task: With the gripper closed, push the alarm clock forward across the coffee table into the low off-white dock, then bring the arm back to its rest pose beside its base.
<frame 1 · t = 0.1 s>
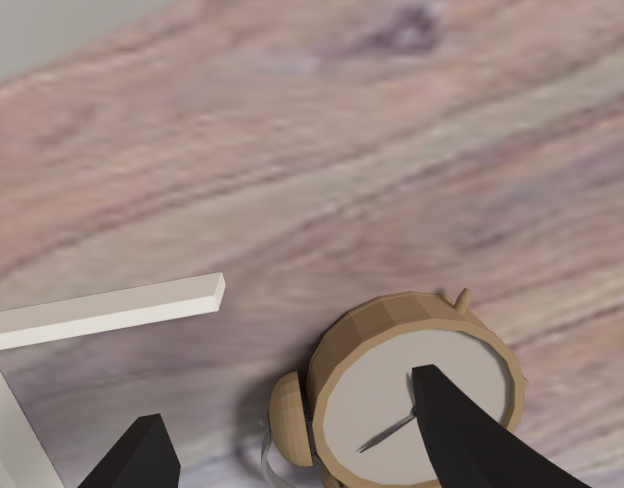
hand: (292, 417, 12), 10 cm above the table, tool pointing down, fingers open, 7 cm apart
alarm clock: (375, 385, 25), on the table
clock dock: (144, 433, 24), on the table
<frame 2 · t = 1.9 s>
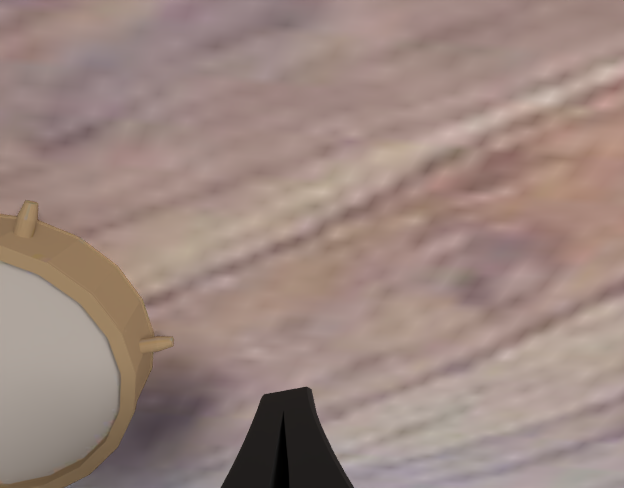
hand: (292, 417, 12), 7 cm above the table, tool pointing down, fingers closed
alarm clock: (1, 350, 18), on the table
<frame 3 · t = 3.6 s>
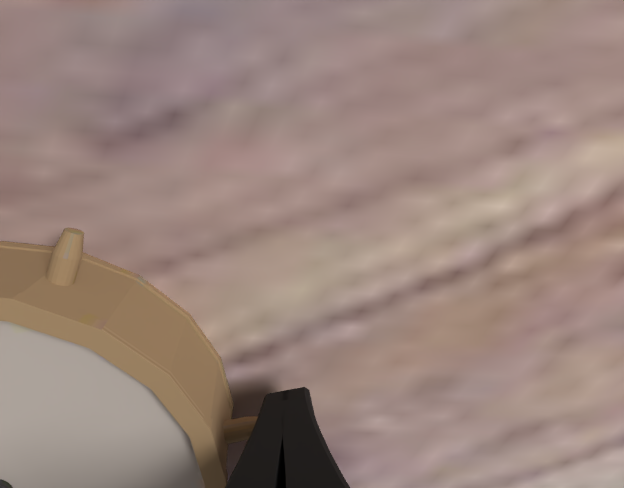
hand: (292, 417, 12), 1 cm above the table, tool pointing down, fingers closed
alarm clock: (20, 427, 13), on the table, touching gripper
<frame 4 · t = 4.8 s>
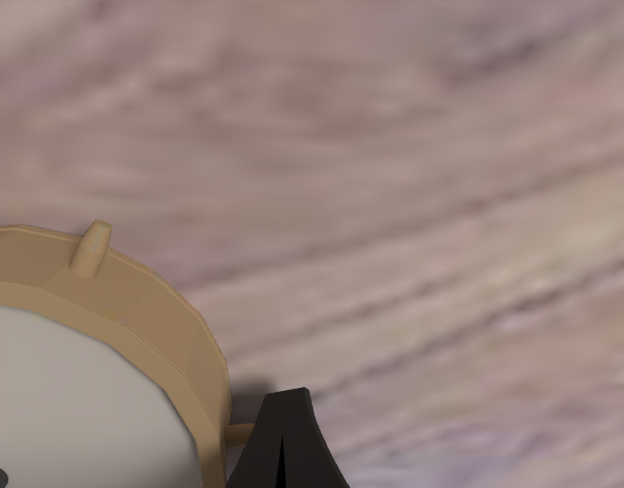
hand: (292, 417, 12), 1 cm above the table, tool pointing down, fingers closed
alarm clock: (10, 412, 13), on the table, touching gripper
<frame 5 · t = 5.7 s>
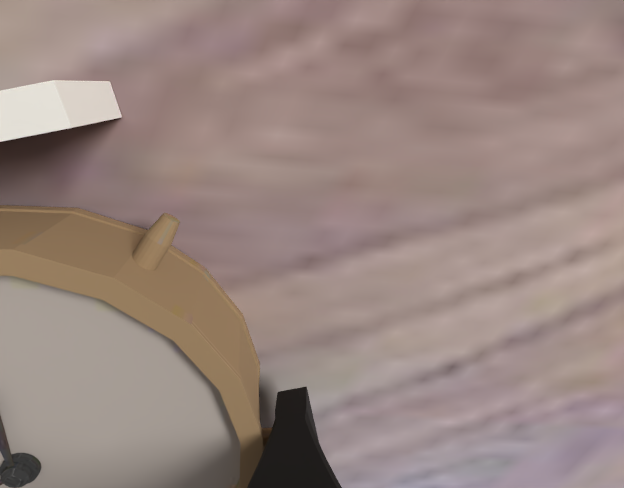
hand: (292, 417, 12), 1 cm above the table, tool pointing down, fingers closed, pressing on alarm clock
alarm clock: (29, 396, 13), on the table, touching clock dock, gripper
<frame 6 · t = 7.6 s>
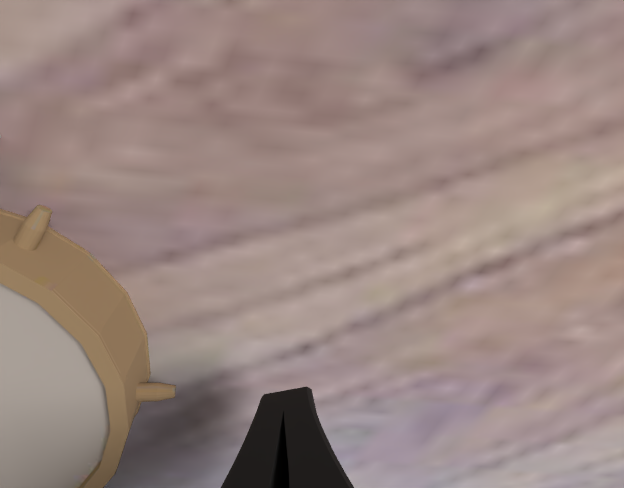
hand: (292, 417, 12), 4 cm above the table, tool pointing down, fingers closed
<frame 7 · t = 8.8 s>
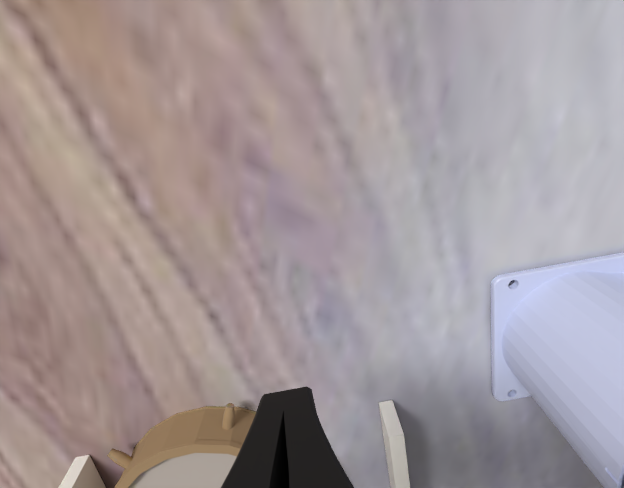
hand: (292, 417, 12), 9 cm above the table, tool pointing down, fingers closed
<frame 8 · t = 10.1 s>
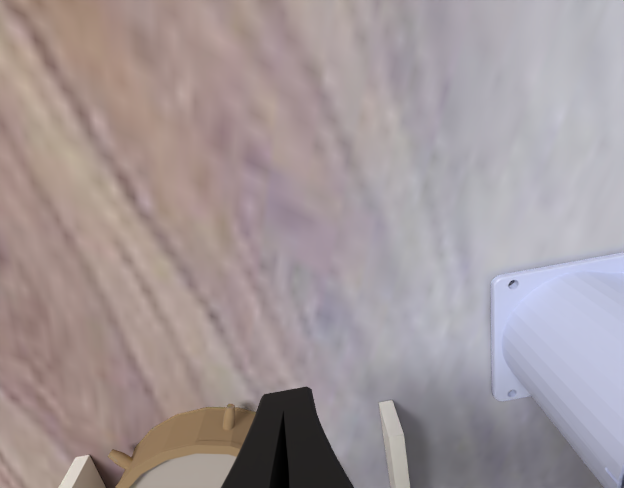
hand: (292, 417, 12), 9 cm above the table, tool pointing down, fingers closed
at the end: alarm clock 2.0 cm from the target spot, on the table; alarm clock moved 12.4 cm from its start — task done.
